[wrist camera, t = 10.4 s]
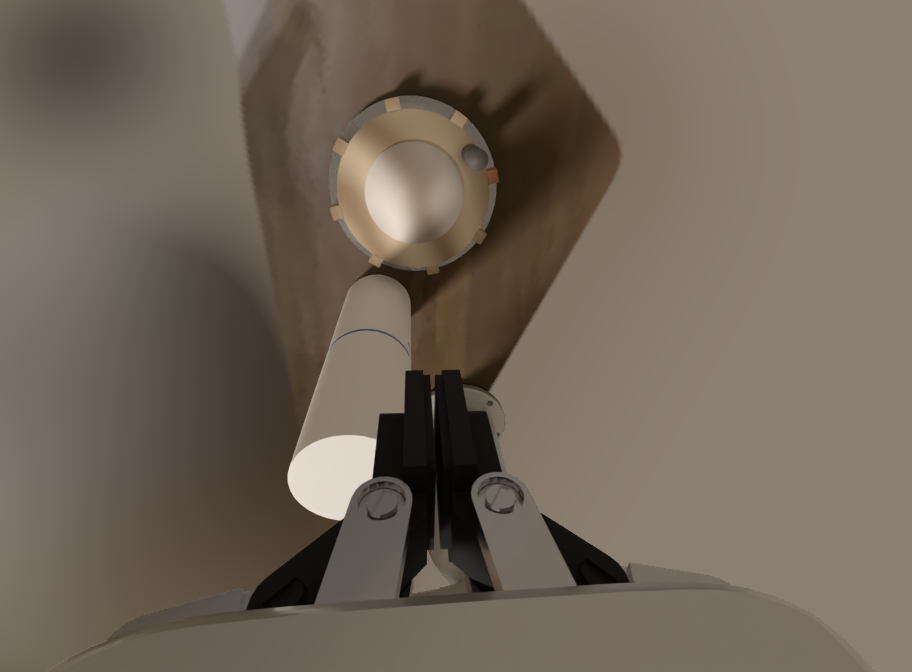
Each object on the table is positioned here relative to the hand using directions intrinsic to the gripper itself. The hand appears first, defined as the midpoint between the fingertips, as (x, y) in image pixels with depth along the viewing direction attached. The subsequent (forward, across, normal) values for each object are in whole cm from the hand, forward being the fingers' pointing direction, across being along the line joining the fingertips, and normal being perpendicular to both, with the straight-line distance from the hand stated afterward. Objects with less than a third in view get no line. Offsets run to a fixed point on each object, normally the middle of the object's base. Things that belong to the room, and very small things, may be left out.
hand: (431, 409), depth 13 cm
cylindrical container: (+33, +4, +11) cm, 35 cm away
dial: (+31, 0, -2) cm, 31 cm away
